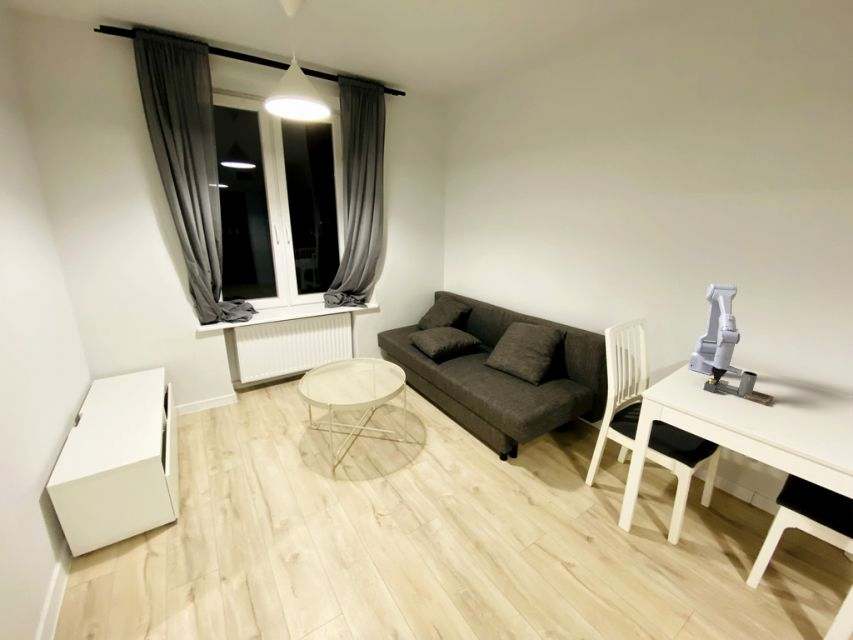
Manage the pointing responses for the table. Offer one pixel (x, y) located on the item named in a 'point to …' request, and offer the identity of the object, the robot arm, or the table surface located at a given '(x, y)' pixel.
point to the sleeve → (730, 393)
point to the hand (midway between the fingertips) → (716, 383)
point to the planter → (747, 383)
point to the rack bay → (759, 399)
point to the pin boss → (710, 387)
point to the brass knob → (712, 381)
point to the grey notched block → (727, 386)
